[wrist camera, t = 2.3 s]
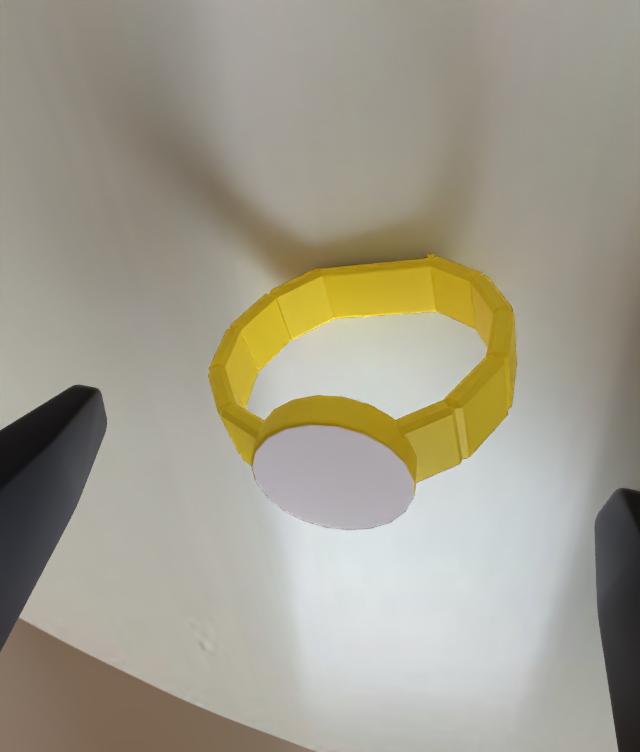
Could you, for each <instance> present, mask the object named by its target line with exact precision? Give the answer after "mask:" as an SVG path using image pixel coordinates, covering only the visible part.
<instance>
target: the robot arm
mask: <svg viewBox="0 0 640 752" xmlns="http://www.w3.org/2000/svg"><path fill="white" fill-rule="evenodd" d="M106 427H107V417H106V413H105V408H104V403H103V399H102V394H101V392H100V390H99V389H97V388H95V387H89V386H84V385H74V386H72V387H70V388H68V389H67V390H65V391H63V392H62V393H60V394H59V395H57V396H55V397H54V398H52V399H50V400H49V401H47V402H46V403H44V404H42V405H41V406H39V407H37V408H36V409H34V410H33V411H31V412H29V413H28V414H26V415H25V416H23V417H21V418H20V419H18V420H16V421H15V422H13V423H12V424H10V425H8V426H7V427H5V428H3V429H2V430H0V651H1V649H2V647H3V646H4V644H5V642H6V640H7V638H8V636H9V634H10V632H11V631H12V629H13V627H14V625H15V623H16V621H17V619H18V617H19V615H20V613H21V612H22V610H23V608H24V606H25V604H26V602H27V600H28V598H29V596H30V595H31V593H32V591H33V589H34V587H35V585H36V583H37V581H38V579H39V577H40V576H41V574H42V572H43V570H44V568H45V566H46V564H47V562H48V560H49V558H50V557H51V555H52V553H53V551H54V549H55V547H56V545H57V543H58V541H59V539H60V538H61V536H62V534H63V532H64V530H65V528H66V526H67V524H68V522H69V520H70V518H71V516H72V514H73V512H74V510H75V508H76V506H77V504H78V501H79V499H80V497H81V494H82V492H83V489H84V486H85V484H86V481H87V479H88V476H89V473H90V471H91V468H92V466H93V463H94V460H95V458H96V455H97V453H98V450H99V448H100V445H101V442H102V440H103V437H104V435H105V432H106ZM595 556H596V587H597V608H598V618H599V626H600V632H601V639H602V646H603V652H604V659H605V665H606V672H607V679H608V685H609V692H610V698H611V705H612V712H613V718H614V725H615V731H616V738H617V745H618V751H619V752H640V491H637V490H632V489H626V488H619V489H617V490H616V491H615V492H614V493H613V494H612V496H611V497H610V498H609V500H608V501H607V502H606V504H605V505H604V506H603V508H602V509H601V510H600V512H599V513H598V515H597V517H596V521H595Z"/></svg>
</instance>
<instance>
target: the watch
mask: <svg viewBox="0 0 640 752" xmlns="http://www.w3.org/2000/svg"><path fill="white" fill-rule="evenodd" d="M426 256H427V258H424V259H414V260H403V261H393V262H383V263H373V264H362V265H352V266H342V267H332V268H321V269H317V268H316V269H313V270H311V271H309V272H307V273H305V274H303V275H301V276H299V277H297V278H295V279H293V280H291V281H289V282H287V283H285V284H283V285H280V286H278V287H276V288H274V289H272V290H271V291H270V294H265V295H263V296H262V297H261V298H260V299H259V300H258V301H257V302H256V303H255V304H253V305H252V306H251V307H250V308H249V309H248V310H247V311H246V312H244V313H243V314H242V315H241V316H240V317H239V318H238V319H237V320H235V321H234V322H233V323H232V324H231V326H230V329H227V331H226V332H225V334H224V336H223V339H222V341H221V343H220V345H219V347H218V350H217V352H216V354H215V356H214V359H213V361H212V363H211V365H210V367H209V370H210V372H209V374H208V377H209V381H210V384H211V388H212V392H213V396H214V399H215V403H216V407H217V411H218V413H219V415H220V417H221V419H222V421H223V423H224V425H225V427H226V429H227V431H228V433H229V435H230V437H231V439H232V441H233V443H234V445H235V447H236V449H237V451H238V453H239V454H240V455H241V456H242V458H243V460H244V461H246V462H247V463H248V464H250V465H251V467H252V471H253V474H254V478H255V480H256V482H257V484H258V485H259V487H260V488H261V490H262V491H263V492H264V494H265V495H266V496H267V498H268V499H270V500H271V501H272V502H273V503H275V504H276V505H277V506H278V507H280V508H281V509H282V510H283V511H285V512H287V513H289V514H291V515H293V516H295V517H297V518H299V519H301V520H303V521H306V522H309V523H313V524H316V525H320V526H323V527H326V528H335V529H344V530H357V529H370V528H374V527H377V526H381V525H384V524H387V523H390V522H392V521H393V520H395V519H396V518H397V517H399V516H400V515H402V514H403V513H404V512H405V511H406V510H407V508H408V506H409V505H410V503H411V501H412V500H413V497H414V495H415V488H416V483H417V482H419V481H422V480H424V479H426V478H429V477H431V476H433V475H436V474H438V473H440V472H442V471H445V470H447V469H449V468H452V467H454V466H456V465H459V464H460V463H461V460H462V459H466V458H469V457H470V456H471V455H472V454H473V453H474V452H475V451H476V450H477V448H478V447H479V446H480V445H481V444H482V443H483V442H484V441H485V440H486V438H487V437H488V436H489V435H490V434H491V433H492V432H493V431H494V430H495V428H496V427H497V426H498V425H499V424H500V423H501V422H502V421H503V419H504V418H505V417H506V416H507V415H508V409H509V408H510V407H512V401H513V393H514V384H515V375H516V367H517V356H516V337H515V319H514V313H513V310H512V306H511V305H510V304H509V303H508V301H507V300H506V299H505V297H504V296H503V295H502V294H501V292H500V291H499V290H498V289H497V287H496V286H495V285H494V284H493V282H492V281H491V280H490V278H489V277H487V276H486V275H484V274H483V275H482V273H481V272H479V271H477V270H474V269H471V268H469V267H466V266H463V265H460V264H458V263H455V262H452V261H450V260H447V259H444V258H441V257H439V256H436V257H434V254H428V255H426ZM425 312H440V313H442V314H444V315H446V316H449V317H451V318H453V319H455V320H457V321H459V322H462V323H464V324H466V325H468V326H470V327H472V328H474V329H476V331H477V332H478V334H479V335H480V337H481V338H482V340H483V341H484V343H485V344H486V346H487V347H488V348H487V354H486V357H485V358H484V359H483V360H482V361H481V362H480V363H479V364H478V365H477V366H476V367H475V368H474V369H473V370H472V371H471V372H470V373H469V374H468V375H467V376H466V377H465V378H464V379H463V380H462V381H461V382H460V383H459V384H458V385H457V386H456V387H455V388H454V389H453V390H452V391H451V392H450V393H449V394H448V395H447V396H446V397H445V398H444V400H442V401H440V402H437V403H435V404H433V405H430V406H428V407H425V408H423V409H421V410H418V411H416V412H413V413H411V414H409V415H406V416H404V417H402V418H399V419H397V420H394V419H393V418H392V417H390V416H389V415H387V414H385V413H384V412H382V411H380V410H378V409H377V408H375V407H373V406H371V405H369V404H366V403H362V402H359V401H356V400H352V399H349V398H345V397H336V396H321V395H317V396H311V397H305V398H299V399H295V400H292V401H290V402H288V403H286V404H284V405H282V406H280V407H278V408H276V409H275V410H273V411H272V413H271V414H270V415H269V416H268V417H267V419H266V420H265V421H264V420H262V419H261V418H259V417H257V416H256V415H254V414H252V413H251V412H249V411H247V410H246V409H245V408H246V405H247V402H248V400H249V397H250V394H251V391H252V388H253V386H254V383H255V380H256V377H257V374H258V372H259V371H260V370H261V369H262V368H263V367H264V366H265V365H266V364H267V363H268V362H269V361H270V360H271V359H272V358H273V357H274V356H275V355H276V354H277V353H278V352H279V351H280V350H281V349H282V348H283V347H284V346H285V345H286V344H287V343H288V342H289V341H290V340H293V339H295V338H297V337H299V336H301V335H303V334H305V333H307V332H309V331H311V330H313V329H315V328H317V327H319V326H321V325H323V324H325V323H327V322H329V321H331V320H333V319H334V318H349V317H364V316H380V315H395V314H410V313H425Z"/></svg>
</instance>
